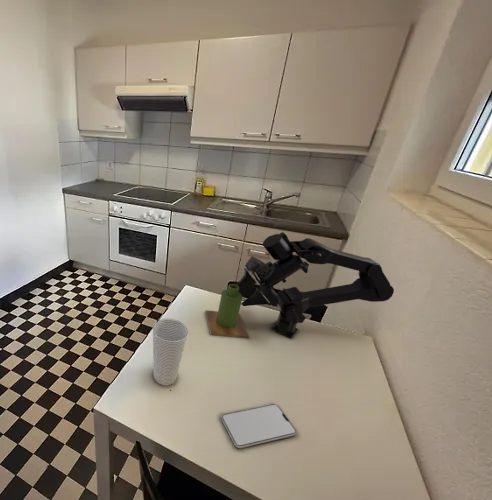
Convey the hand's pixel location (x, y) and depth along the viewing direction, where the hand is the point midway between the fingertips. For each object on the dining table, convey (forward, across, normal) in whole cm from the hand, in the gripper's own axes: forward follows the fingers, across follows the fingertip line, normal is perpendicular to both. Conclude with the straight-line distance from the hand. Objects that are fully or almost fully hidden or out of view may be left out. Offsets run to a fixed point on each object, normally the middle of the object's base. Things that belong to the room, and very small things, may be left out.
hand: (238, 296), depth 90 cm
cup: (+24, +24, -8) cm, 35 cm away
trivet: (+10, 0, +6) cm, 12 cm away
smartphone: (+10, +36, +6) cm, 37 cm away
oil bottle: (+9, 0, +6) cm, 11 cm away
